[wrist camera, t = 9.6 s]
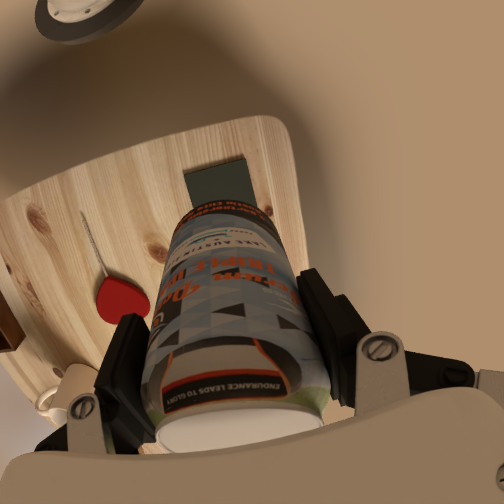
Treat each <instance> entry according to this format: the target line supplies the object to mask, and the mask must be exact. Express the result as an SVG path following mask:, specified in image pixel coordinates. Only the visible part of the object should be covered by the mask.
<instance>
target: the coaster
mask: <svg viewBox="0 0 504 504" xmlns="http://www.w3.org/2000/svg"><path fill="white" fill-rule="evenodd" d="M184 177H185V181H186V184H187V188H188V191H189V194H190V198H191V201H192V204H193V208H196V207H198V206H199V205H202V204H204V203H207V202H210V201H215V200H225V199H231V200H238V201H242V202H245V203H249V204H251V205H253V206H255V207H257V203H256V199H255V195H254V191H253V187H252V183H251V179H250V175H249V170H248V166H247V162H246V159H245V158H244V159H240V160H236V161H232V162H229V163H225V164H221V165H217V166H213V167H210V168H206V169H203V170H199V171H196V172H192V173H189V174H185V175H184Z"/></svg>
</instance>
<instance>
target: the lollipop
mask: <svg viewBox="0 0 504 504" xmlns="http://www.w3.org/2000/svg"><path fill="white" fill-rule="evenodd" d="M82 222H83V224H84V227H85V229H86V232H87V234H88V237H89V239H90V242H91V244H92V246H93V249H94V251H95V253H96V256H97V258H98V260H99V263H100V265H101V267H102V269H103V271H104V274H105V276H106V278H105V279H104V281H103V283H102V284H101V286H100V289H99V291H98V294H97V299H96V307H97V311H98V313H99V315H100V317H101V318H102V319H103V320H104V321H106V322H108V323H110V324H118V323H119V321H120V319H121V317H122V315H126V314H130V313H137V314H138V315H141V316H142V317H143V318H144V317H146V316H147V315H148V313H149V311H150V303H149V300H148V298H147V296H146V295H145V294H144V293H143V292H142V291H141V290H139V289H138V288H137V287H135V286H133V285H132V284H130V283H128V282H126V281H123V280H121V279H118V278H115V277H112V276H108V274H107V272H106V269H105V267H104V265H103V263H102V261H101V258H100V256H99V254H98V251H97V249H96V247H95V244H94V242H93V239H92V237H91V235H90V232H89V230H88V227H87V224H86V222H85V220H83V221H82Z"/></svg>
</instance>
